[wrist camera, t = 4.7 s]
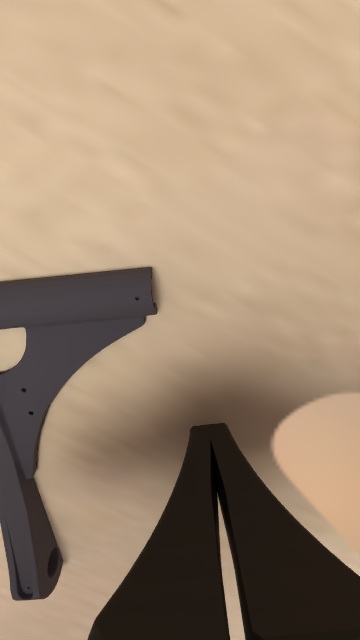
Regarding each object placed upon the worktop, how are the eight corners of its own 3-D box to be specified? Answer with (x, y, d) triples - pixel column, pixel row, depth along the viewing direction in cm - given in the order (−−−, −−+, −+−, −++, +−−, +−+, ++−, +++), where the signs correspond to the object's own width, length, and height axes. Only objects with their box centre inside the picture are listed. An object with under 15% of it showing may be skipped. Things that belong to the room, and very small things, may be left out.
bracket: (-72, 558, 16) (-120, 626, 13) (-229, 301, 11) (-356, 329, 8) (189, 538, 16) (191, 603, 13) (153, 262, 11) (146, 278, 8)
